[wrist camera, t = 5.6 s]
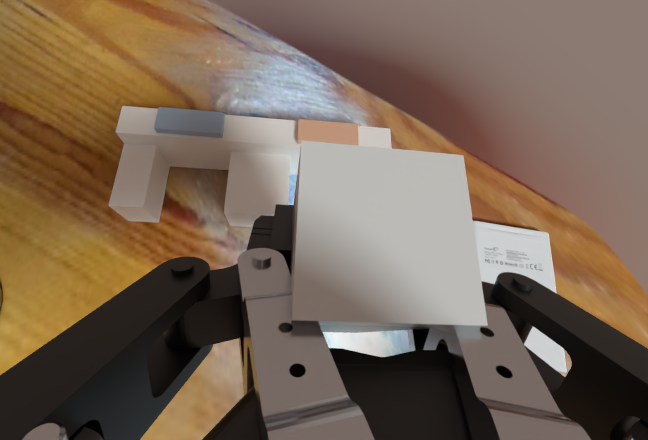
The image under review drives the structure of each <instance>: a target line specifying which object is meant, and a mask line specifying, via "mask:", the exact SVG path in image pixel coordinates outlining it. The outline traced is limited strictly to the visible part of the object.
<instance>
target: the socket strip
mask: <svg viewBox="0 0 648 440" xmlns="http://www.w3.org/2000/svg"><path fill="white" fill-rule="evenodd" d="M115 133H116V134H117V135H118V136H119V138H120V139H121V140H122V141H123V142H124V146H123V150H122V154H121V158H120V161H119V165H118V169H117V173H116V177H115V181H114V185H113V189H112V193H111V197H110V201H109V205H108V206H109V207H110V208H112V209H113V210H114V211H116V212H117V213H118V214H120V215H121V216H122V217H124V218H125V219H126V220H128V221H135V222H156V223H159V221H160V216H161V210H162V205H163V200H164V195H165V190H166V184H167V179H168V174H169V169H170V166H171V167H186V168H201V169H216V170H229V172H228V181H227V189H226V197H225V205H224V214H225V216H226V218H227V220H228V222H229V225H230V226H240V227H253V224H254V221H255V220H256V219H257V218H259V217H260V216H261V215H265V216H274V214H275V207H276V204H281V205H288V197H289V178H290V174H291V175H297V173H298V164H299V155H300V147H301V140H303V141H314V142H325V143H336V144H347V145H357V146H368V147H379V148H390V149H391V135H390V129H388V128H376V127H365V126H358V124H352V123H341V122H329V121H318V120H306V119H299V120H298V121H294V120H283V119H271V118H259V117H248V116H236V115H225V114H224V112H213V111H202V110H190V109H178V108H167V107H159V108H158V109H154V108H143V107H131V106H122V109H121V113H120V117H119V121H118V124H117V128H116V132H115Z"/></svg>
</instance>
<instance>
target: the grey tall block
mask: <svg viewBox="0 0 648 440" xmlns="http://www.w3.org/2000/svg"><path fill="white" fill-rule="evenodd" d="M290 275H291V292H292V314H291V321H315V322H318V323H319V325H320V328H321V330H322V332H350V333H358V332H377V331H395V330H414V329H430V328H433V327H443V326H452V325H461V326H488V324H487V317H486V310H485V303H484V296H483V289H482V282H481V275H480V268H479V261H478V254H477V247H476V240H475V233H474V227H473V220H472V213H471V206H470V199H469V192H468V185H467V178H466V171H465V164H464V157H463V155H455V154H444V153H433V152H422V151H411V150H401V149H390V148H379V147H368V146H357V145H347V144H336V143H325V142H314V141H303V140H301V147H300V155H299V164H298V173H297V181H296V190H295V198H294V207H293V215H292V249H291V263H290Z"/></svg>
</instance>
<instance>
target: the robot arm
mask: <svg viewBox="0 0 648 440" xmlns="http://www.w3.org/2000/svg"><path fill="white" fill-rule="evenodd" d="M293 207H294V205H281V204H276V207H275V214H274V216H265V215H261V216H260V217H259V218H257V219H256V220H255V221H254V224H253V229H252V232H251V236H250V240H249V243H248V247H247V251H245V252H243V253H242V254H241V255H240V256H239V257H238V264H236V265H234V266H231V267H228V268H223V269H217V270H210V267H209V264H208V263H207V262H206V261H204V260H202V259H200V258H196V257H179V258H175V259H171V260H168V261H166V262H164V263H162V264H161V265H159V266H158V267H156V268H155V269H153V270H152V271H151V272H149V273H148V274H146V275H145V276H143V277H142V278H140V279H139V280H138V281H136V282H135V283H133V284H132V285H130V286H129V287H127V288H126V289H125V290H123V291H122V292H120V293H119V294H117V295H116V296H114V297H113V298H112V299H110V300H109V301H107V302H106V303H104V304H103V305H101V306H100V307H99V308H97V309H96V310H94V311H93V312H91V313H90V314H88V315H87V316H86V317H84V318H83V319H81V320H80V321H78V322H77V323H75V324H74V325H73V326H71V327H70V328H68V329H67V330H65V331H64V332H62V333H61V334H60V335H58V336H57V337H55V338H54V339H52V340H51V341H49V342H48V343H47V344H45V345H44V346H42V347H41V348H39V349H38V350H36V351H35V352H33V353H32V354H31V355H29V356H28V357H26V358H25V359H23V360H22V361H20V362H19V363H18V364H16V365H15V366H13V367H12V368H10V369H9V370H7V371H6V372H5V373H3V374H2V375H0V440H140V439H141V437H142V436H143V435H144V434H145V432H146V431H147V430H148V429H149V427H150V426H151V425H152V424H153V422H154V421H155V420H156V419H157V417H158V416H159V415H160V414H161V412H162V411H163V410H164V409H165V407H166V406H167V405H168V404H169V402H170V401H171V400H172V399H173V397H174V396H175V395H176V394H177V392H178V391H179V390H180V389H181V387H182V386H183V385H184V384H185V382H186V381H187V380H188V379H189V377H190V376H191V375H192V374H193V372H194V371H195V370H196V369H197V367H198V366H199V365H200V364H201V362H202V361H203V360H204V359H205V357H206V356H207V355H208V353H209V352H210V351H211V349H212V347H213V344H216V343H220V342H224V341H229V340H233V339H237V338H239V346H240V356H241V366H242V375H243V388H244V397H243V398H242V399H241V400H240V401H239V402H238V403H237V404H236V405H235V406H234V407H233V408H232V409H231V410H230V411H229V412H228V413H227V414H226V415H225V416H224V417H223V418H222V420H221V421H220V422H219V423H218V424H217V425H216V426H215V427H214V428H213V429H212V430H211V431H210V432H209V433H208V434H207V435H206V436H205V437H204V438H203V439H202V440H648V349H647V348H646V347H644V346H643V345H641V344H639V343H638V342H636V341H634V340H633V339H631V338H629V337H628V336H626V335H624V334H623V333H621V332H619V331H618V330H616V329H614V328H613V327H611V326H609V325H608V324H606V323H604V322H603V321H601V320H599V319H598V318H596V317H594V316H593V315H591V314H590V313H588V312H586V311H585V310H583V309H581V308H580V307H578V306H576V305H575V304H573V303H571V302H570V301H568V300H566V299H565V298H563V297H561V296H560V295H558V294H556V293H555V292H553V291H551V290H550V289H548V288H546V287H545V286H543V285H541V284H540V283H538V282H537V281H535V280H533V279H531V278H529V277H527V276H524V275H521V274H517V273H512V272H503V273H500V274H499V275H498V276H497V279H496V282H495V284H492V283H487V282H483V281H481V282H482V289H483V296H484V303H485V310H486V317H487V324H488V326H461V325H452V326H443V327H433V328H430V329H414V330H408V337H409V345H410V352H407V353H403V354H398V355H394V356H389V357H377V356H372V355H368V354H363V353H358V352H354V351H349V350H345V349H336V348H329V347H328V345H327V343H326V340H325V338H324V335H323V333H322V330H321V328H320V325H319V323H318V322H315V321H291V314H292V292H291V275H290V263H291V249H292V215H293ZM1 304H2V299H1V288H0V308H1ZM532 327H535V328H536V329H538V330H539V331H540V332H542V333H543V334H544V335H546V336H547V337H549V338H550V339H551V340H553V341H554V342H555V343H557V344H558V345H560V346H561V347H562V348H564V349H565V350H566V351H567V353H568V354H569V356H570V358H571V361H572V367H571V369H570V371H569V372H568V374H567V376H566V377H564V376H562V375H561V374H560V373H559V372H557V371H556V370H555V369H554V368H552V367H551V366H550V365H549V364H547V363H546V362H545V361H544V360H542V359H541V358H540V357H539V356H537V355H536V354H535V353H533V352H532V351H531V350H530V349H528V348H527V347H526V346H525V345H524V343H525V341H526V339H527V337H528V335H529V333H530V331H531V329H532ZM639 419H640V420H639Z"/></svg>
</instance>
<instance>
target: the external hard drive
mask: <svg viewBox="0 0 648 440" xmlns="http://www.w3.org/2000/svg"><path fill="white" fill-rule="evenodd" d="M473 227H474V233H475V240H476V247H477V254H478V261H479V268H480V275H481V281H483V282H487V283H492V284H495V282H496V279H497V276H498V275H499V274H500V273H503V272H512V273H517V274H521V275H524V276H527V277H529V278H531V279H533V280H535V281H537V282H538V283H540V284H541V285H543V286H545V287H546V288H548V289H550V290H551V291H553V292H555V293H556V286H555V278H554V270H553V263H552V256H551V249H550V240H549V234H548V233H547V232H541V231H535V230H528V229H522V228H516V227H510V226H504V225H498V224H492V223H486V222H480V221H473ZM556 294H557V293H556ZM524 345H525V346H526V347H527V348H528V349H530V350H531V351H532V352H533V353H535V354H536V355H537V356H539V357H540V358H541V359H542V360H544V361H545V362H546V363H547V364H549V365H550V366H551V367H552V368H554V369H555V370H556V371H560V372H567V369H566V362H565V353H564V348H562V347H561V346H560V345H558V344H557V343H555V342H554V341H553V340H551V339H550V338H549V337H547V336H546V335H544V334H543V333H542V332H540V331H539V330H538V329H536V328H535V327H532V329H531V331H530V333H529V335H528V337H527V339H526V341H525V343H524Z"/></svg>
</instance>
